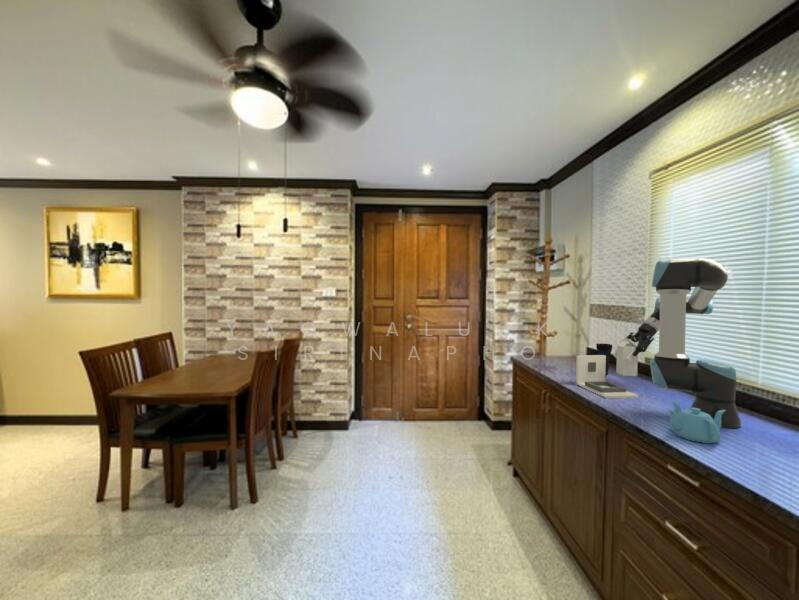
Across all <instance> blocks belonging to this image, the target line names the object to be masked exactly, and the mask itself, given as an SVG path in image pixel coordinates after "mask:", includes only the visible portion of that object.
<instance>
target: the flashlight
mask: <svg viewBox="0 0 799 600" xmlns="http://www.w3.org/2000/svg"><path fill="white" fill-rule="evenodd" d="M595 346H596V348H595V349H596V351H597V355H605V356H606V370H605V379H606V378H607V376H608V375H609V369H610V356H611V354H612V351H613V344H611V343H603V342H602V343H596V345H595Z"/></svg>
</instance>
